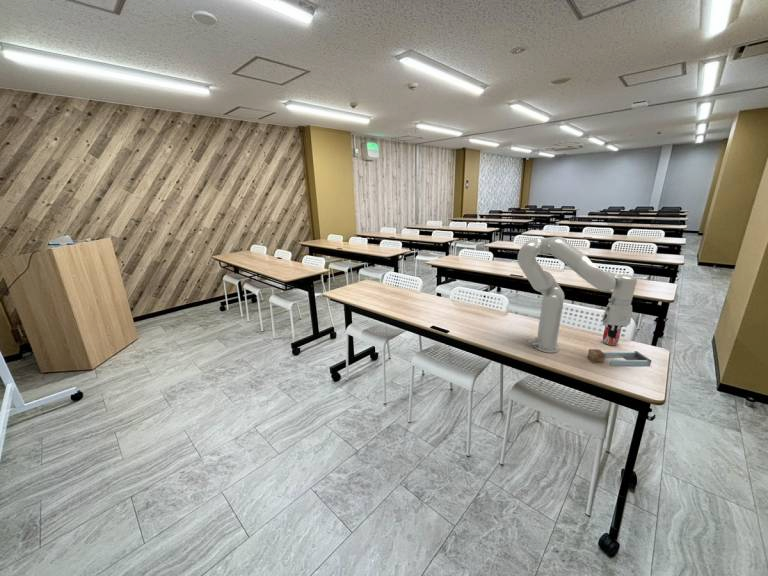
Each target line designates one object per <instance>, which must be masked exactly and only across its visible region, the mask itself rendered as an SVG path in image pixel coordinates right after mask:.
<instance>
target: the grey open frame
mask: <svg viewBox="0 0 768 576" xmlns="http://www.w3.org/2000/svg"><path fill="white" fill-rule="evenodd" d="M602 352H603V353H604V354H606V355H605V358H622V359H610V362H609V366H610V367H651V363H652V359H650V358H649V357H647V356H645V354H644V355H643V354H642V353H641V352H639V351H636V350H634V351H602Z"/></svg>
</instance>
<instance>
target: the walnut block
mask: <svg viewBox="0 0 768 576" xmlns="http://www.w3.org/2000/svg"><path fill="white" fill-rule="evenodd" d="M603 352H604V351H602V350H601V349H596V348H595V349H594V348H593V349H592V348H590V349H588V352H587V357H586V358H587V359H588V360H589V361H590V362H591V363H592V364H604V363H605V360H606V359H605V358H606V357H605V355H606V354H604V353H603Z"/></svg>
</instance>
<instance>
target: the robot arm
mask: <svg viewBox="0 0 768 576" xmlns="http://www.w3.org/2000/svg"><path fill="white" fill-rule="evenodd" d="M544 254H546V255H547V254H548V255H549V254H550V255H552V256H553V257H554V258H556V259H558V260H559V262H561V263H563V264H564V265H566V266H567V267H569V268H570V269H571V270H572V271H574V272H575V273H576V274H577V275H579V277H581V278H582V279H583V280H584V281H586V282H587V283H588V284H590V285H591V286H592V287H594V288H595V289H597V290H599V291H601V292H610V291H612V293H611V298H608V304H607V305H606V308H605V310H604V312H603V316H602V324H601V325H602V326H604V327H605V326H607V327H608V328H609V330H608V336H609V337H610V338H616V334H617V331H619V329H620V328H621V329H622V328H624V327H627V326H629V325H630V324H631V320H632V316H633V305H632V302H633V297H634V292H635V289H636V286H637V282H638V277H636V276H634V275H629V274H619V273H615V272H611V271H604V270H602V269H601V268H599V267H598V266H596V264H594V263H593V262H592V260H591V259H590V258H589V257H588V256H587V255H586V254H585V253H583V252H582V251H581V250H579V249H577V248H576V247H575V246H573V245H571V244H570V243H569V242H568V241H567V239H566V238H565V237H562V236H553V237H552V236H550V237H542V238H541V237H540V238H533V239H529V240H528V241H527V242H524V244H523V245H522V246H521V248H520V249H519V251H518V254H517V263H518V266H519V268H520V269H521V271H522V273H523V274H524V276H525V277H526V279H527V280H528V282H529V283H530V285H531V287H532V288H533V290H535V291H537V292H539V293H541V295H542V296H543V297H542V299H541V303H540V304H541V306H540V315H539V322H538V329H537V336H536V337H535V338H533V339H527V344H531V346H532V347H534V348H535V349H536V350H538V351H541V352H543V353H549V354H550V353H552V354H553V353H555V354H556V353H558V352H559V351H560V346H559V345H558V344H557V343H558V338H559V332H560V326H561V325H560V324H561V320H562V319H561V318H562V313H563V307H564V302H565V292H564V291H563V289H562V288H561V286H560V285H559V284H558V281H556V279H555V278H554V276H553V275H552V273H550V272H549V271H546V270H544V269H543V268H542V266H541V265H540V263H539V262H538V261H537V256H538V255H544Z"/></svg>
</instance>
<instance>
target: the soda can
mask: <svg viewBox="0 0 768 576" xmlns="http://www.w3.org/2000/svg"><path fill="white" fill-rule="evenodd" d="M608 330H609V328H608V327H607V326H604V330H603V335H602V342H603V343H604V344H606V345H608V346H617V345H618V344H619V341H620V338H621V333H622V332H621V331H622V327H621V328H620V329H619V331H617V334H616V338H610V337H609V336H608Z"/></svg>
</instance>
